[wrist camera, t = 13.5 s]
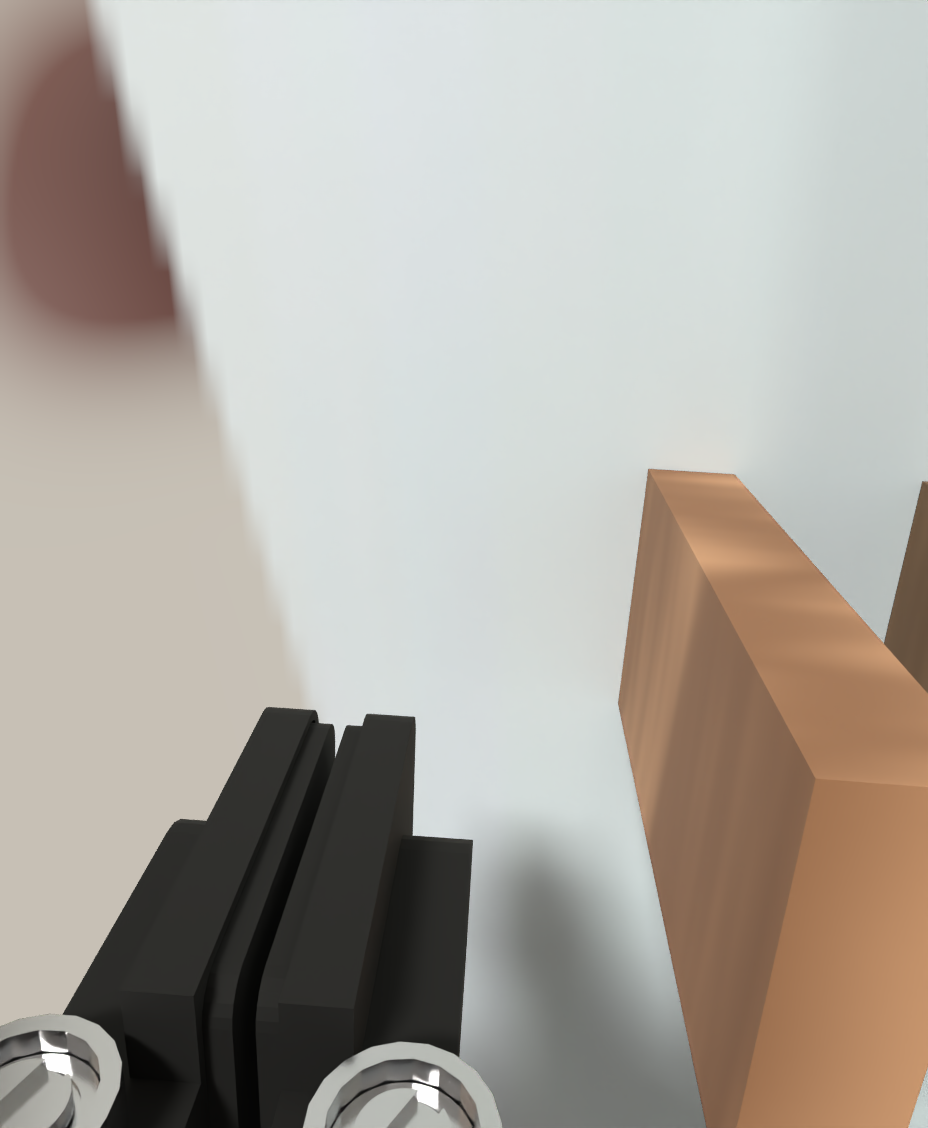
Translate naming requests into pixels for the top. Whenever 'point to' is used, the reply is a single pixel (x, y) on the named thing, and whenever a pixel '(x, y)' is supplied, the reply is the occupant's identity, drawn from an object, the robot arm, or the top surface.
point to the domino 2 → (913, 600)
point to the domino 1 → (778, 816)
